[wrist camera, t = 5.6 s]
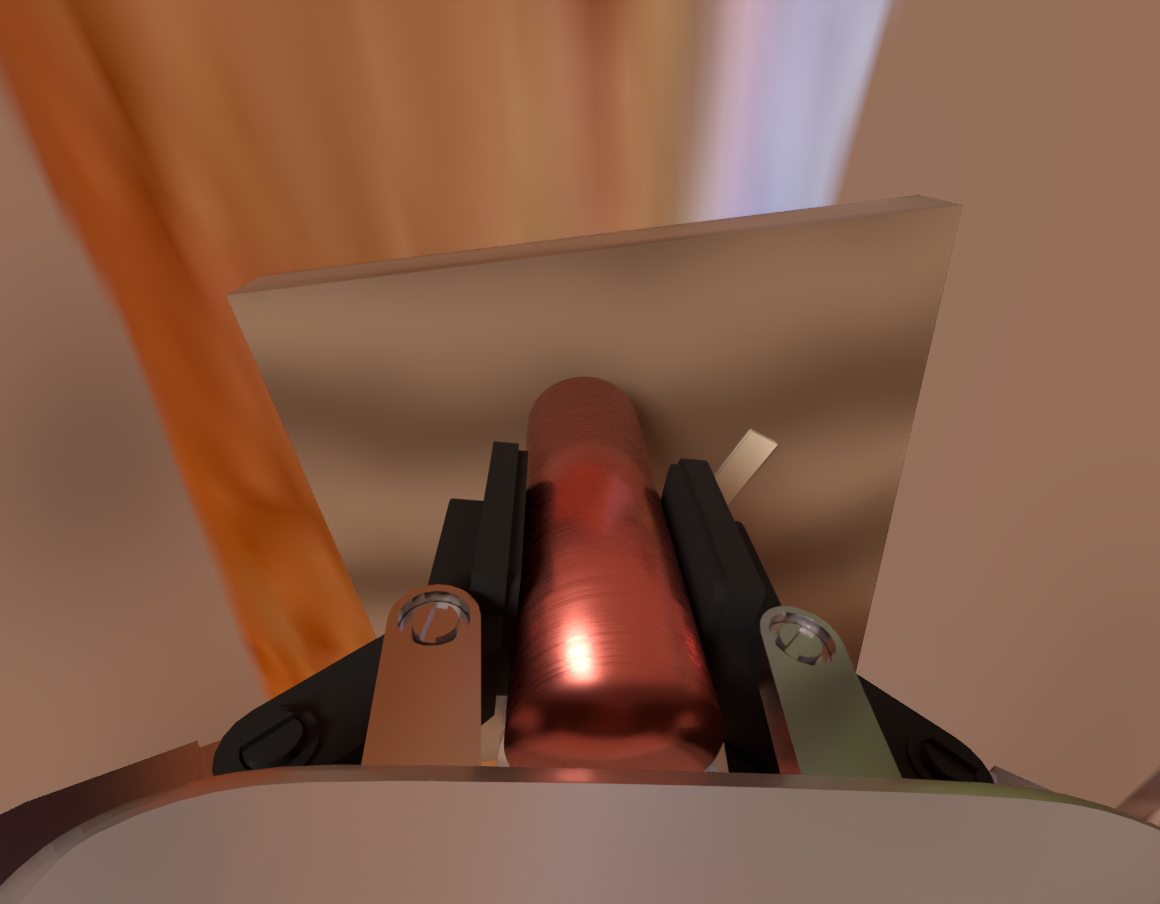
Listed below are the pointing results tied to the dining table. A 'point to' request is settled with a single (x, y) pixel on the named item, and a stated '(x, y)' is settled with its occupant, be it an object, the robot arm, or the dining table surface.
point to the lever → (601, 603)
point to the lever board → (621, 381)
